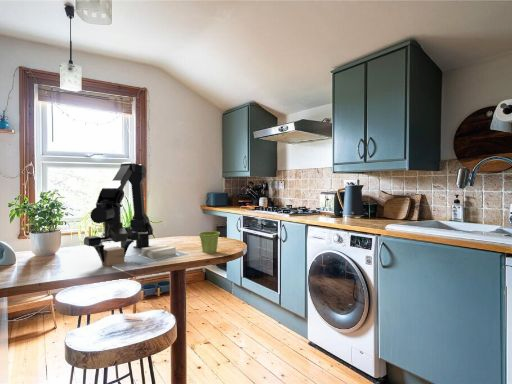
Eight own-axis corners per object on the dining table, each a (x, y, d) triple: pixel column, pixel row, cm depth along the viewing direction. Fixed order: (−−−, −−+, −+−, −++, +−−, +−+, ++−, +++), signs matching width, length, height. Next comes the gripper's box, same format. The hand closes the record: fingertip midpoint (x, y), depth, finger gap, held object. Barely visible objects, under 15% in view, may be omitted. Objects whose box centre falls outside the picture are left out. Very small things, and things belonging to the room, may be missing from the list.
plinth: (141, 255, 130) (141, 248, 130) (163, 251, 137) (163, 244, 137) (153, 259, 123) (153, 251, 123) (175, 254, 131) (175, 247, 130)
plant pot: (206, 256, 131) (205, 235, 131) (194, 252, 138) (194, 232, 138) (224, 252, 137) (224, 233, 137) (212, 249, 144) (212, 230, 144)
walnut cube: (101, 264, 118) (101, 248, 118) (117, 261, 123) (117, 246, 123) (108, 267, 114) (108, 251, 114) (124, 264, 119) (124, 248, 118)
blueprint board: (119, 258, 127) (118, 257, 126) (166, 250, 143) (166, 248, 143) (138, 266, 115) (138, 264, 115) (188, 255, 131) (188, 254, 131)
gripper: (94, 224, 106) (95, 269, 106) (145, 219, 119) (146, 259, 120) (82, 221, 113) (83, 264, 114) (132, 217, 127) (133, 255, 127)
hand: (113, 260), depth 118 cm, fingers open, 7 cm apart
